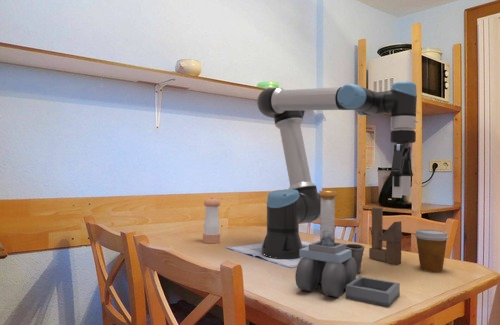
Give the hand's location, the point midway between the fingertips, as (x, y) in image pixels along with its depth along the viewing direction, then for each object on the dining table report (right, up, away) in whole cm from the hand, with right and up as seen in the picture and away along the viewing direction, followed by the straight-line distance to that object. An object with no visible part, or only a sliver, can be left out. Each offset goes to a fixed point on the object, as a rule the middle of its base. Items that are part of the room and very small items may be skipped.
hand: (401, 196), depth 120 cm
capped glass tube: (-29, -12, -23) cm, 39 cm away
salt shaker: (-65, -23, +39) cm, 79 cm away
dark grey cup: (-19, -23, -9) cm, 31 cm away
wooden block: (-2, -23, +8) cm, 25 cm away
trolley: (-29, -22, -23) cm, 43 cm away
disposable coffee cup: (+8, -23, -3) cm, 24 cm away
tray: (-19, -22, -29) cm, 41 cm away
